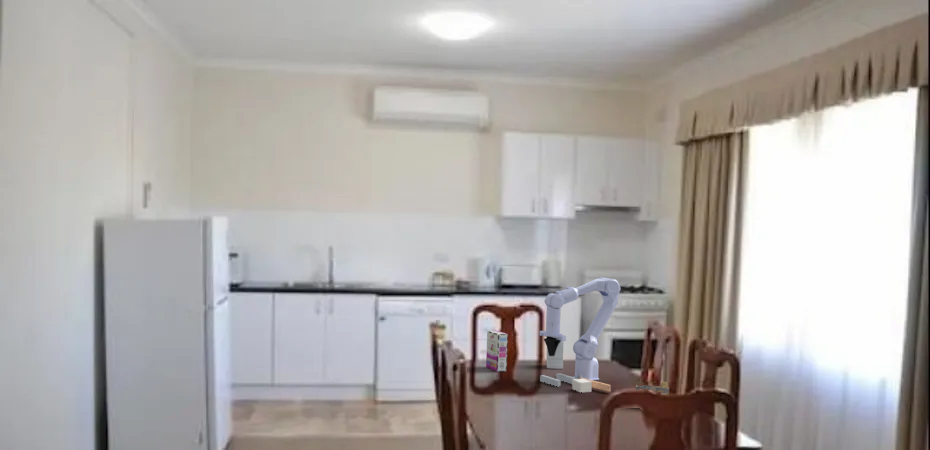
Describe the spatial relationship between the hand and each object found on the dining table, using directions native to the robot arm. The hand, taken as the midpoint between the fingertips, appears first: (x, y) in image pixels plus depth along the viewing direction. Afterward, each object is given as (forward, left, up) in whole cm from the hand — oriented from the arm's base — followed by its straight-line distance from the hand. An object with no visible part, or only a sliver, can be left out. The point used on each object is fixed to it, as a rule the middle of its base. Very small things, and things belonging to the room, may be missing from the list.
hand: (551, 355), depth 308 cm
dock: (0, +4, -10) cm, 11 cm away
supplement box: (-19, -21, -11) cm, 30 cm away
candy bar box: (+8, -28, -11) cm, 31 cm away
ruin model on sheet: (-7, +49, -11) cm, 51 cm away
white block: (0, +19, -11) cm, 21 cm away
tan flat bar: (-6, +19, -10) cm, 22 cm away
